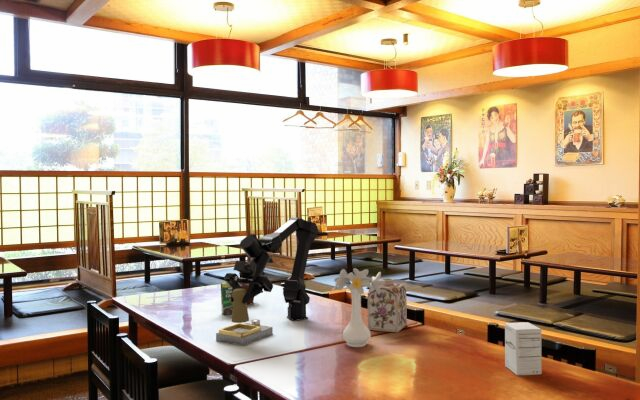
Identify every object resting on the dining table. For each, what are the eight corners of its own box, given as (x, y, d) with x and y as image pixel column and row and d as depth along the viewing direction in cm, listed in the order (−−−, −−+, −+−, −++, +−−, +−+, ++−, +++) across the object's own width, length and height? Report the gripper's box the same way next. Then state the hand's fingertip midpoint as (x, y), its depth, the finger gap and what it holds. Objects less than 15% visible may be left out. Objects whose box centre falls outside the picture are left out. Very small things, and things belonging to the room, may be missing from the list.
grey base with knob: (246, 329, 194) (246, 317, 194) (272, 333, 188) (272, 321, 188) (216, 340, 181) (215, 327, 181) (242, 345, 174) (242, 332, 174)
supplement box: (504, 366, 150) (503, 322, 149) (529, 365, 150) (529, 321, 150) (516, 375, 142) (515, 329, 142) (542, 374, 143) (542, 328, 143)
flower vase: (390, 342, 175) (389, 267, 175) (351, 354, 163) (350, 273, 162) (362, 334, 185) (361, 263, 184) (323, 345, 172) (322, 269, 172)
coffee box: (222, 315, 217) (221, 283, 217) (221, 313, 220) (220, 282, 220) (241, 313, 220) (241, 282, 220) (239, 311, 223) (239, 280, 223)
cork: (239, 323, 178) (238, 291, 178) (227, 321, 182) (226, 289, 181) (252, 319, 183) (251, 288, 182) (240, 317, 186) (239, 286, 186)
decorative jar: (407, 325, 197) (407, 277, 196) (398, 333, 186) (398, 282, 186) (377, 322, 202) (376, 275, 201) (366, 330, 191) (366, 280, 191)
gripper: (226, 250, 190) (205, 286, 181) (267, 253, 180) (246, 291, 171) (242, 269, 197) (221, 304, 188) (281, 272, 186) (262, 310, 178)
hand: (237, 302), depth 181 cm, fingers closed on cork, 5 cm apart
